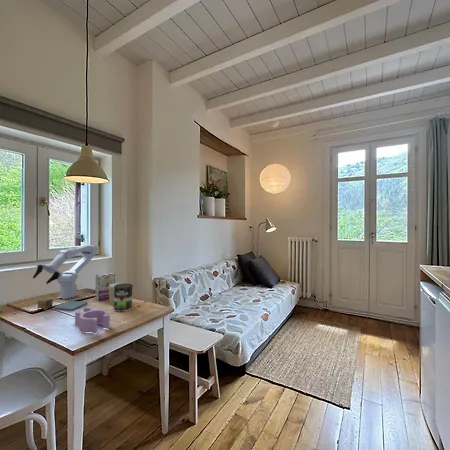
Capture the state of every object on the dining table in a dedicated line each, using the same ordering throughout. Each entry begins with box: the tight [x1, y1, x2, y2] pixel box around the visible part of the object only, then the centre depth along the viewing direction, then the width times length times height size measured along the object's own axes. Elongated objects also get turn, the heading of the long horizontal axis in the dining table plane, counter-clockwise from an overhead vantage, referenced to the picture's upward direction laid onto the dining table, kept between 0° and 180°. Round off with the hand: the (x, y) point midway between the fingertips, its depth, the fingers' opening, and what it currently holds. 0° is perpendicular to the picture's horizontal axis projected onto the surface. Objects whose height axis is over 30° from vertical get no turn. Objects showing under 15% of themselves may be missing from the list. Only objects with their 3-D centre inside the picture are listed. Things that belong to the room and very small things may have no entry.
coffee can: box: [113, 282, 134, 313], centre depth 151 cm, size 10×10×14 cm
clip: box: [74, 306, 111, 334], centre depth 126 cm, size 20×12×7 cm, turn 56°
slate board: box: [53, 300, 88, 312], centre depth 152 cm, size 12×12×1 cm
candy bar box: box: [95, 272, 116, 302], centre depth 169 cm, size 11×5×16 cm, turn 143°
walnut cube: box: [37, 297, 54, 311], centre depth 148 cm, size 5×5×5 cm
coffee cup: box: [108, 282, 124, 307], centre depth 160 cm, size 9×9×12 cm
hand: (40, 280), depth 147 cm, fingers open, 7 cm apart
